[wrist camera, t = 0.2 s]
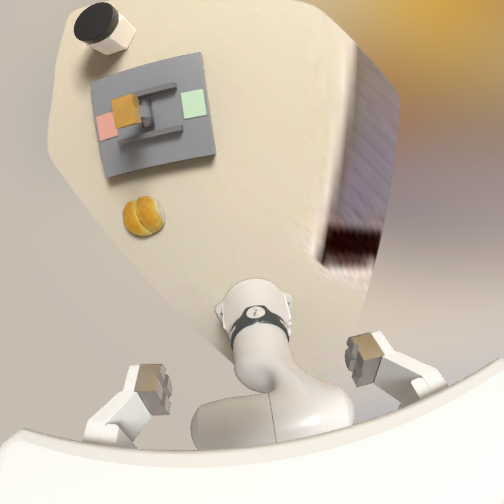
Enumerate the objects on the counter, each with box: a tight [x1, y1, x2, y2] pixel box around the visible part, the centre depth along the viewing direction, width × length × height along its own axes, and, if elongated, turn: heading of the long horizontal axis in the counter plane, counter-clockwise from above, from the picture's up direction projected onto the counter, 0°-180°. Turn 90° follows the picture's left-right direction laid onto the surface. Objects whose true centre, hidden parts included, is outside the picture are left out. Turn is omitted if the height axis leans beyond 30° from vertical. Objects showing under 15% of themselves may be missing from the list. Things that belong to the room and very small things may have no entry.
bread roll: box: [123, 196, 165, 236], centre depth 55 cm, size 8×9×4 cm
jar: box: [74, 2, 136, 55], centre depth 34 cm, size 9×8×12 cm
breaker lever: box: [111, 94, 155, 129], centre depth 38 cm, size 5×3×13 cm, turn 7°
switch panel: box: [90, 52, 216, 178], centre depth 45 cm, size 20×22×6 cm
